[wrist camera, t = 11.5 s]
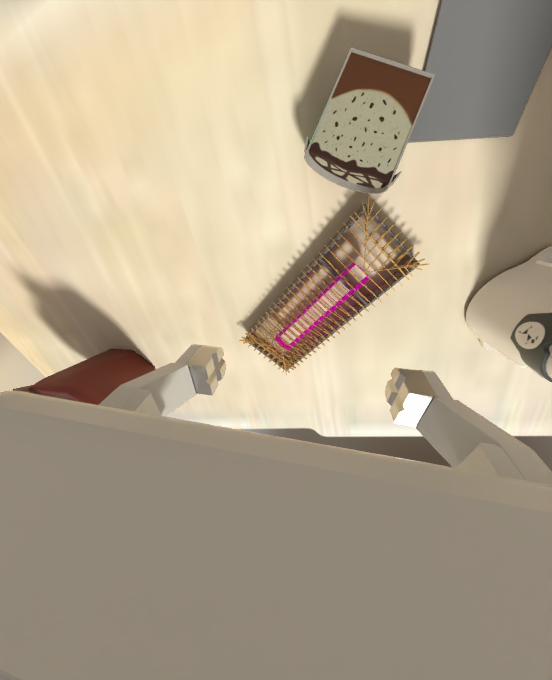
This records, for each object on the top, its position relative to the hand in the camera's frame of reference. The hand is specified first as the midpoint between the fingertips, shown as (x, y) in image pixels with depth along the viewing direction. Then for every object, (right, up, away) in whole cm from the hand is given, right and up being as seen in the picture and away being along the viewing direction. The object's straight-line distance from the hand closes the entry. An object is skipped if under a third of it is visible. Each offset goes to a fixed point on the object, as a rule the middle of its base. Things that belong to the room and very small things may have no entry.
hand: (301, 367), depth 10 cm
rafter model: (+7, +9, +33) cm, 35 cm away
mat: (+22, +33, +13) cm, 42 cm away
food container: (+12, +32, +14) cm, 37 cm away
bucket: (-45, -8, +54) cm, 71 cm away
